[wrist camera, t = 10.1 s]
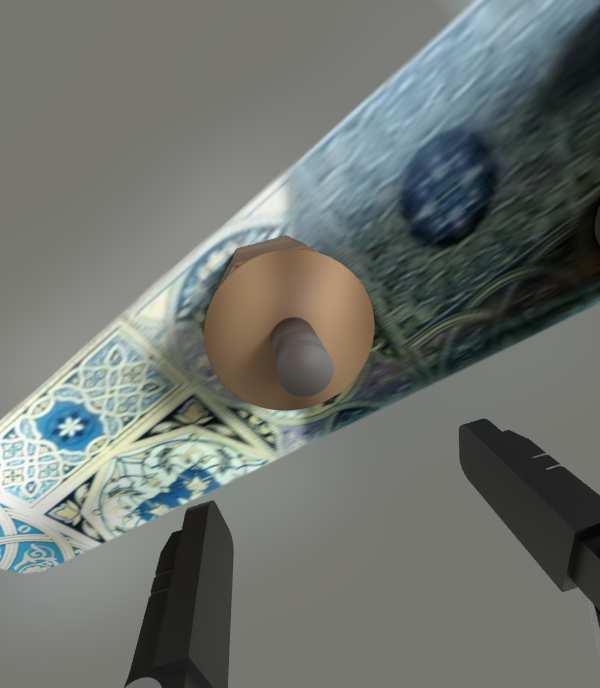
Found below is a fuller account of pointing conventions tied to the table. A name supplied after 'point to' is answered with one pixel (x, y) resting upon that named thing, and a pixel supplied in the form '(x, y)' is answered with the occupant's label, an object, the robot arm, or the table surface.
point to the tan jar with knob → (287, 325)
